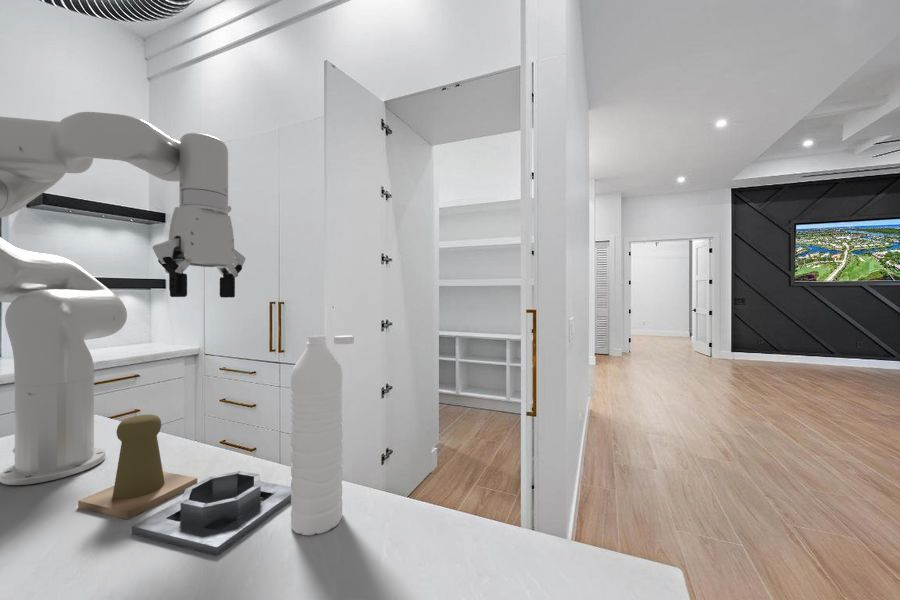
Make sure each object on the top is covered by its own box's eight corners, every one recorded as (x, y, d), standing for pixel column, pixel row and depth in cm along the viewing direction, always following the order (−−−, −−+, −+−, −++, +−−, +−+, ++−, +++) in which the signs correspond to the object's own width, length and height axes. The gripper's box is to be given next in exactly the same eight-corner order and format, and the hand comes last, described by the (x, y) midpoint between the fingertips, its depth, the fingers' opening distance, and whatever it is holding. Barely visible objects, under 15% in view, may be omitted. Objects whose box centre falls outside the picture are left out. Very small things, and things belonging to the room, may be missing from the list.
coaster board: (78, 507, 52) (78, 500, 52) (152, 475, 62) (152, 469, 62) (127, 519, 50) (127, 512, 50) (197, 484, 59) (197, 477, 59)
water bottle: (279, 530, 47) (279, 336, 47) (313, 504, 53) (313, 332, 53) (336, 545, 44) (336, 338, 44) (365, 515, 50) (365, 334, 51)
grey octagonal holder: (131, 533, 47) (131, 506, 47) (227, 481, 60) (227, 460, 60) (217, 555, 43) (217, 525, 43) (299, 494, 56) (299, 471, 56)
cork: (135, 501, 52) (136, 424, 52) (101, 497, 53) (101, 421, 53) (174, 480, 58) (174, 411, 58) (142, 477, 59) (142, 409, 59)
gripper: (229, 216, 77) (229, 297, 77) (138, 193, 61) (138, 296, 61) (257, 214, 75) (257, 297, 75) (172, 189, 59) (172, 296, 59)
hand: (204, 297), depth 68 cm, fingers open, 9 cm apart
